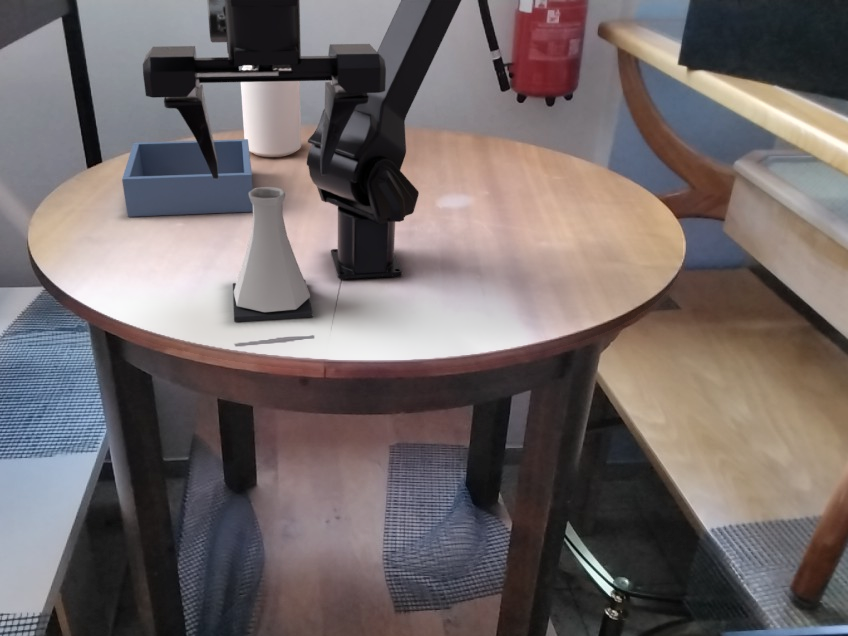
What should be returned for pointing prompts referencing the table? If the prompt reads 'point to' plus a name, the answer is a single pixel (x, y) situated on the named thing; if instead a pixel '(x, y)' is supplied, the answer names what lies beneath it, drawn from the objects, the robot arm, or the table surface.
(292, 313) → the coaster
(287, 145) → the beverage can
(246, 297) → the flask
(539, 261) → the table surface
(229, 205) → the tote
